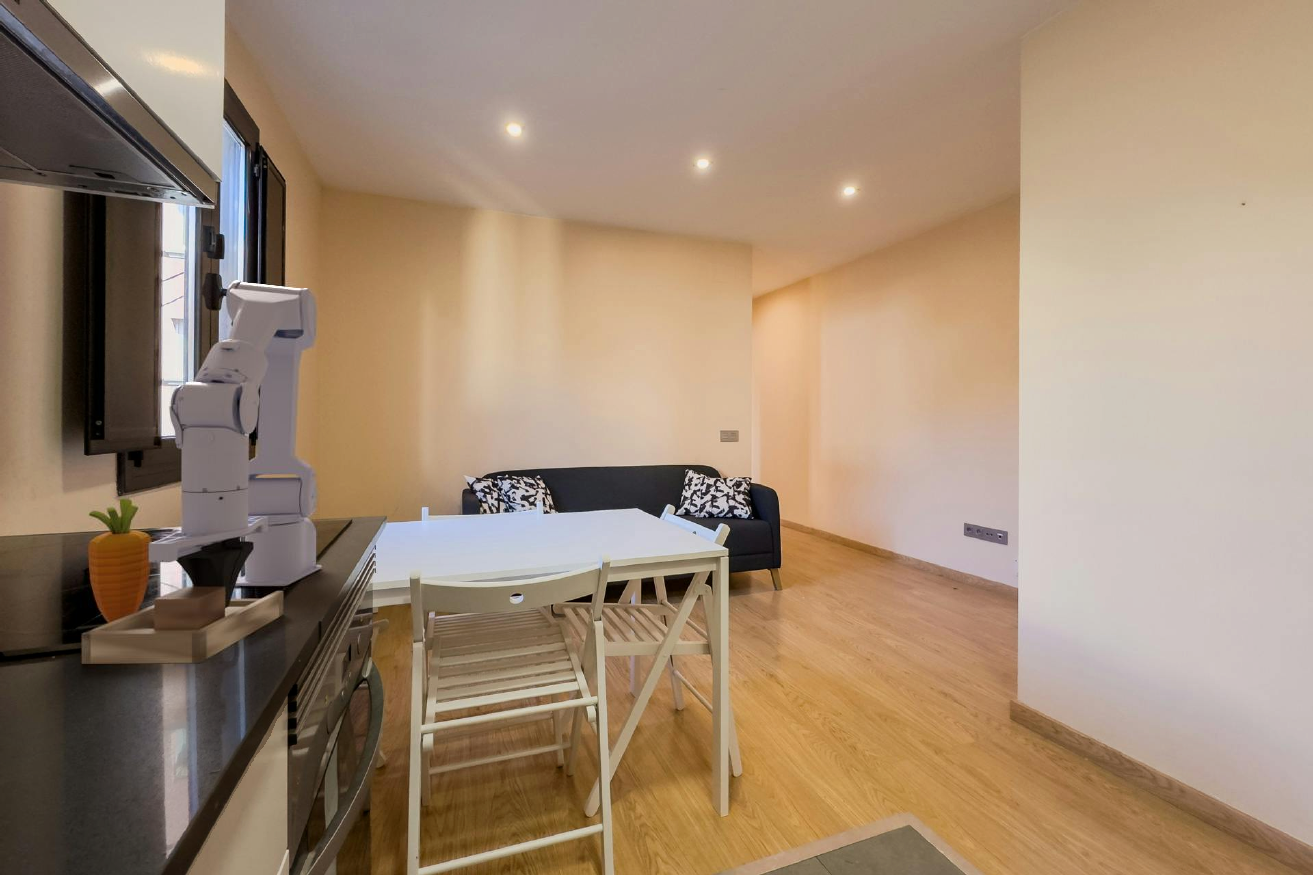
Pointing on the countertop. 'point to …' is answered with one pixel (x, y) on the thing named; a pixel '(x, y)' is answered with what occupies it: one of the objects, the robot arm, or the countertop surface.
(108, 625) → the tray box
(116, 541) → the carrot
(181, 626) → the block
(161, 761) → the countertop surface
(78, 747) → the countertop surface
